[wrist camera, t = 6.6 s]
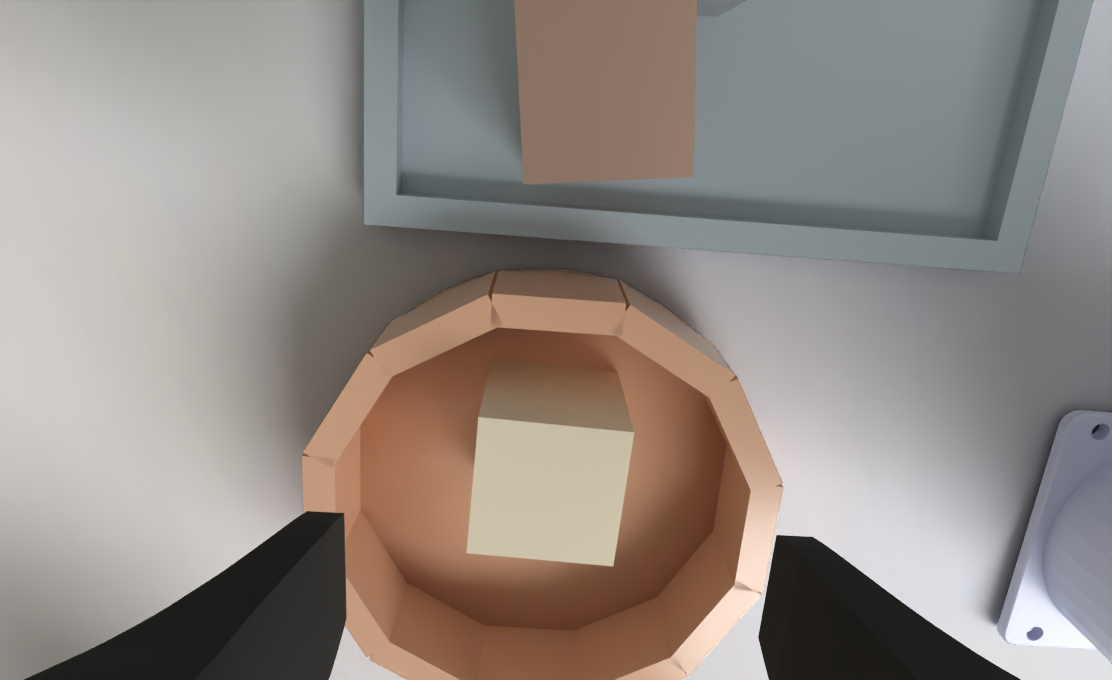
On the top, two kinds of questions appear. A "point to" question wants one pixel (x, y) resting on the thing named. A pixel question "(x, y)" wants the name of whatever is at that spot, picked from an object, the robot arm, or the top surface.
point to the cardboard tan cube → (606, 89)
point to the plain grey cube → (716, 7)
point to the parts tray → (748, 131)
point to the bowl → (529, 584)
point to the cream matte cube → (550, 464)
